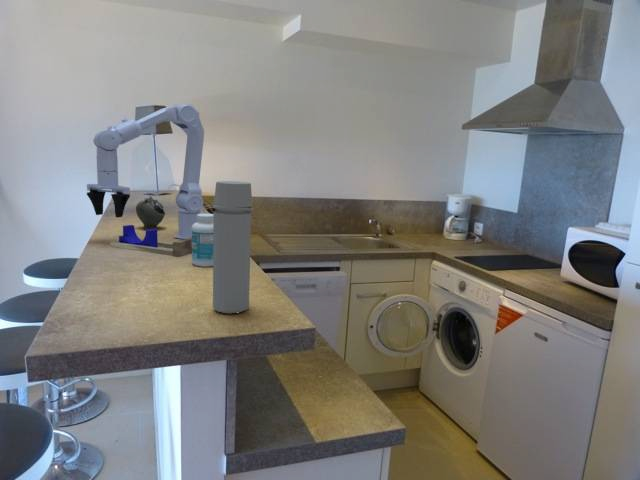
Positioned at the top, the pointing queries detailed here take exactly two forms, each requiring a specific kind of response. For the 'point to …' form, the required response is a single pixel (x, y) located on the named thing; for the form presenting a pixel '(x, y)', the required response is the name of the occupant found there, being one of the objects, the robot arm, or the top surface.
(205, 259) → the pill bottle
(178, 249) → the guide channel
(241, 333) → the top surface
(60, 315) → the top surface
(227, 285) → the water bottle
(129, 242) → the blue cradle block
